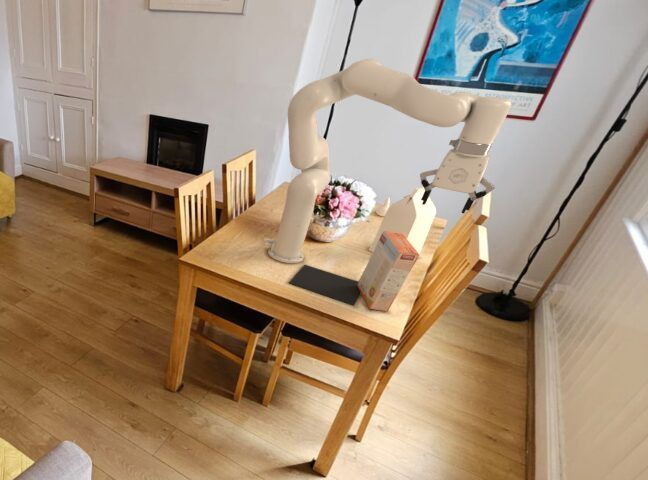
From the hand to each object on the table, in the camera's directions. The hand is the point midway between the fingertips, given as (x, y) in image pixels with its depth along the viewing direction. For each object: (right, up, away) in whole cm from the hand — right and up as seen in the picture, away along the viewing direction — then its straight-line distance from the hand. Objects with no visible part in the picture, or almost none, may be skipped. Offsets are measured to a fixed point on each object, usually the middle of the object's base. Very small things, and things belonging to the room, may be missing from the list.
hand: (443, 207), depth 130 cm
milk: (+13, -9, +41) cm, 44 cm away
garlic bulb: (+29, +11, +70) cm, 77 cm away
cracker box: (-11, -27, +15) cm, 33 cm away
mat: (-22, -22, +22) cm, 38 cm away
